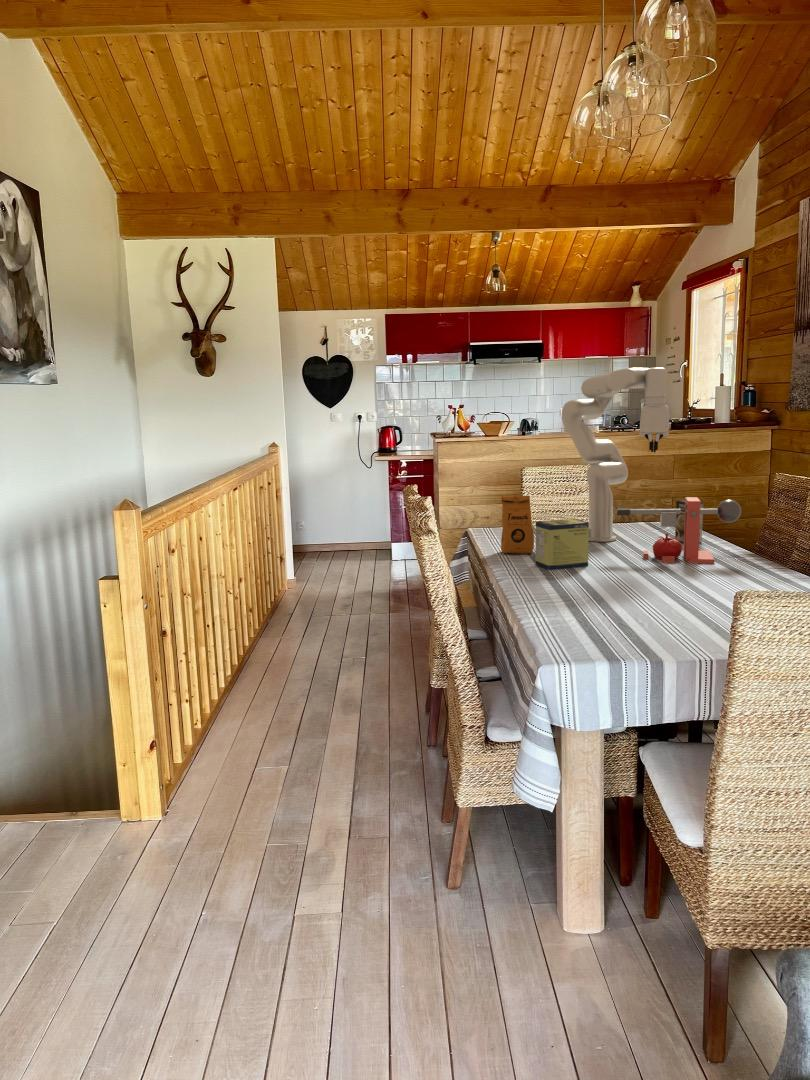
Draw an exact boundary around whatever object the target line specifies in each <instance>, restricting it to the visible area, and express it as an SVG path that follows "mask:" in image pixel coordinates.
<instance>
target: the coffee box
mask: <svg viewBox="0 0 810 1080" xmlns="http://www.w3.org/2000/svg"><path fill="white" fill-rule="evenodd" d="M675 502H676V503H675V504H676V505H675V509H681V514H676V527H675V530H674V531H675V533H674V538H676V539H674V540H677V539H678V541H679V542H682V543H684V526H685V499H679V500H676V501H675ZM700 509H704V501H703V502H702V501H700ZM703 519H704V514H700V525H699V543H702V540H703V538H702V536H703Z"/></svg>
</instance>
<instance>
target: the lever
mask: <svg viewBox="0 0 810 1080" xmlns="http://www.w3.org/2000/svg"><path fill="white" fill-rule="evenodd" d="M616 512H617V513H616V516H631V515H660V523H659V524H660V526H661V528H673V527H676V514H681V509H676V508H630V507H627V508H626V507H622V508H621V507H620V508H619V507H618V508H617V510H616ZM686 512H687V509H686ZM700 514H703V515H717V518H718V519H719V520H720V521H721V522H724V523H727V524H729V523H734V522H736V521H737V520H738V519H740V517H741V516H742V507H741V505H740V504H739V502H737V501H736V500H734V499H725V500H723V501H721V502H720V503H718V506H716V508H715V507H713V508H710V507H709V508H706V507H705V508H704V507H703V509H700Z"/></svg>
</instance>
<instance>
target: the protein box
mask: <svg viewBox="0 0 810 1080" xmlns="http://www.w3.org/2000/svg"><path fill="white" fill-rule="evenodd" d="M588 536H589V521H584V520H581V519H577V518H564V519H563V518H562V519H553V520H550V519H549V520H539V521H535V565H536V566H538V567H541V568H544V569H546V570H548V571H549V570H551V571H552V570H561V569H571V568H583V567H584V568H585V567H588V566H589V541H588Z"/></svg>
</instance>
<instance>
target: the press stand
mask: <svg viewBox="0 0 810 1080" xmlns="http://www.w3.org/2000/svg"><path fill="white" fill-rule="evenodd" d="M684 500H685V526H684V542H683V557H685V562H688V563H689V564H709V565H713V564H715V558H714V556H713V554H712V553H711V551H710V550H700V548H699V547H700V546H699V545H700V542H699V525H700V502H701V500H700V499H699V497H697V496H695V497H694V496H691V497H689V496H687V497H684ZM686 509H687V512H686ZM643 559H644V560H649V551H648V550H643ZM675 560H676V559H675V557H674V556H662V559H661V563H665V564H666V563H668V564H669V563H670V564H673V563H675Z"/></svg>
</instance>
